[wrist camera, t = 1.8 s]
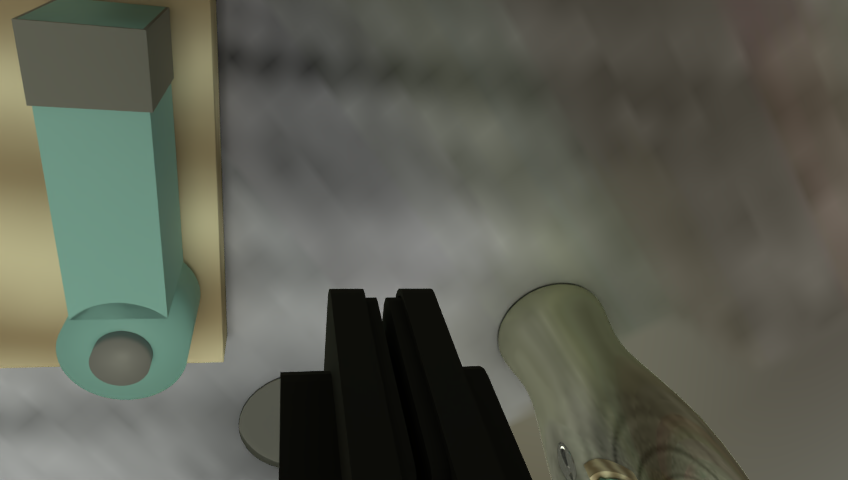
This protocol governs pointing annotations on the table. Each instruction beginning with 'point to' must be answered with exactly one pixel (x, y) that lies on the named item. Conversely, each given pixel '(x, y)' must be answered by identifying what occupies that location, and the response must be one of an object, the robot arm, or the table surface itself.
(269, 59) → the table surface
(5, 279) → the seat
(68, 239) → the leg
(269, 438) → the silver goblet
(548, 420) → the beer glass
